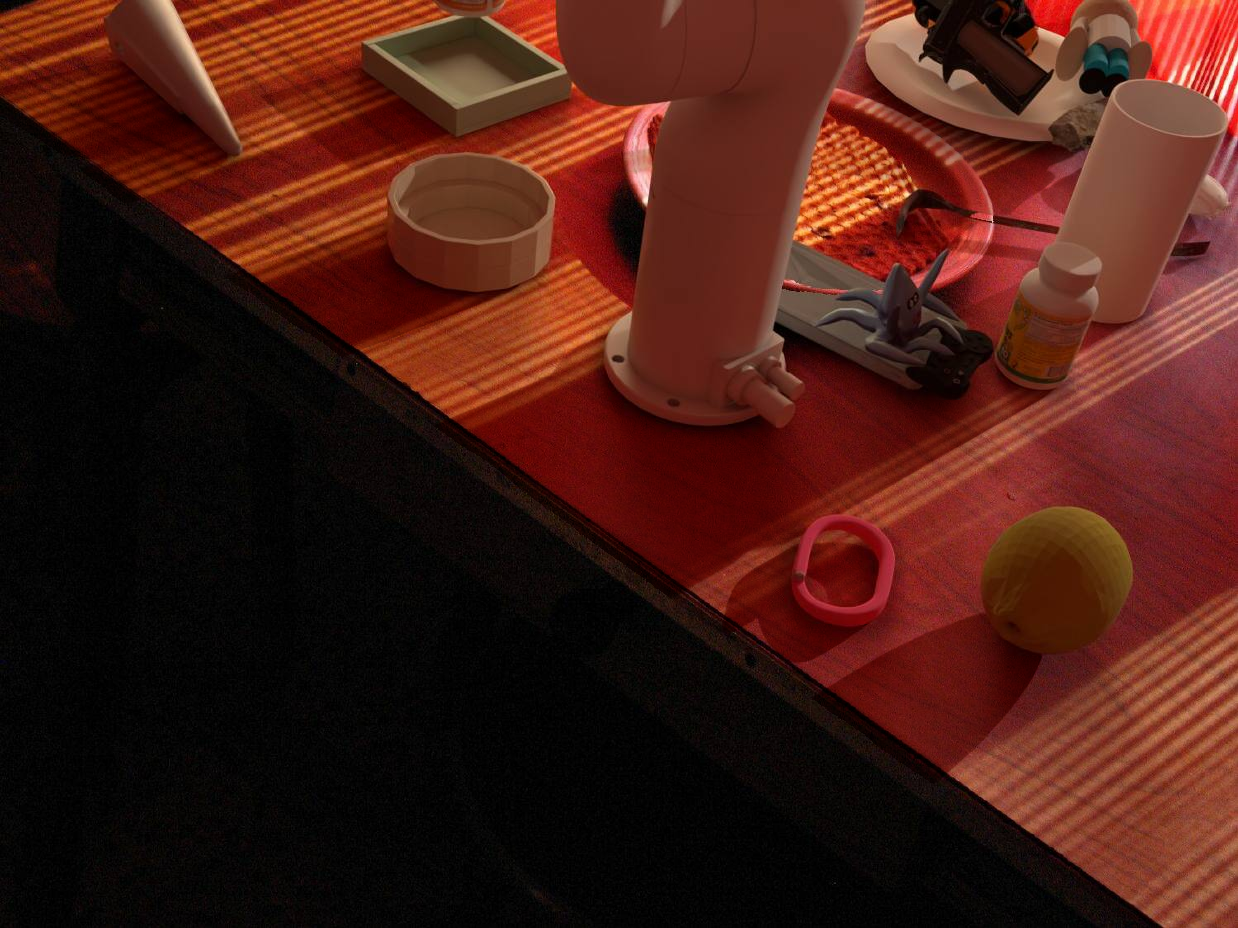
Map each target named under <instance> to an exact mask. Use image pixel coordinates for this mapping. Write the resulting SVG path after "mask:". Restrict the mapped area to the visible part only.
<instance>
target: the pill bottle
mask: <svg viewBox="0 0 1238 928" xmlns="http://www.w3.org/2000/svg"><path fill="white" fill-rule="evenodd" d="M433 2H434V4H435V5H436V6H437V7H438V8H439V9H440V10H442V11H444V12H446V13H448V14H450V15H452V16H454V15H457V16H462V17H472V18H476V17H484V16H488V17H489V16H491V15H494V14H496V13H497V12H499V11H500V10H502V9H503V7H504V6H505V4H506V0H433Z"/></svg>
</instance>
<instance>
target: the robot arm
mask: <svg viewBox="0 0 1238 928" xmlns="http://www.w3.org/2000/svg"><path fill="white" fill-rule="evenodd" d="M866 3H867V0H555V30H556V38H557V39H556V40H557V44H558V49H559V53H560V57H561V61H562V63H563V65H564V66H565V69H566V71H567V73H568V75H569V77H570V78H571V80H572V84H574V86H575V87H576V88H577V89H578V90H579V91H580V92H581V93H582V94H583V95H585V97H587V98H589V99H591V100H593V101H595V102H597V103H600V104H602V105H606V106H611V107H637V106H638V107H639V106H645V105H653V104H656V105H657V104H661V103H662V104H663V103H669V104H668V106H667V108H666V110H665V113H664V115H663V117H662V120H661V123H660V126H659V129H658V133H657V136H656V142H655V147H654V154H653V160H652V168H651V175H650V182H649V190H648V196H647V203H646V209H645V218H644V225H643V232H642V237H641V238H642V240H641V245H640V246H641V247H640V253H639V262H638V268H637V274H636V275H637V276H636V282H635V290H634V298H633V304H632V310H631V311H629V312H628V313H626V314H624V315H623V316H622V317H621V318H620V319H618V320H617V321H615V323H614V324H613V326H612V327H611V328H610V330H609V331H608V333H607V336H606V339H605V341H604V350H603V366H604V370H605V372H606V374H607V377H608V379H609V381H610V382H611V383H612V385H613V387H614V388H615V390H617V391H618V393H620V394H621V395H622V396H623V397H624V398H625V399H626V401H627V400H628V401H629V402H630V403H632V404H633V405H635V406H636V407H638V408H639V409H640V410H642V411H645V412H647V413H649V414H651V415H653V416H655V417H657V418H661V419H664V420H667V421H670V422H673V423H679V424H684V425H689V426H700V427H715V426H726V425H732V424H737V423H740V422H744V421H747V420H749V419H752V418H755V417H757V416H760V417H761V418H763V419H764V420H765V421H767V422H768V423H769V424H771V425H772V426H774V427H775V428H776V429H781V428H784V427H786V425H787V424H789V423H790V422H791V420H792V419H793V417H794V415H795V413H796V411H797V405H796V404H795V403H794V402H793V401H796V400H798V399H800V397H801V396H802V395H803V394H804V392H805V389H806V384H805V382H803V381H802V380H800V379H799V378H797V376H795V375H793V374H792V373H791V372H788V371H787V364H786V359H785V355H784V352H783V347H784V343H785V338H784V337H782V336H781V335H779V334H778V333H776V332H775V331H774V327H775V323H776V322H775V317H776V313H777V309H778V304H779V300H780V295H781V291H782V286H783V282H784V278H785V273H786V269H787V264H788V260H789V256H790V251H791V247H792V242H793V240H794V238H795V233H796V229H797V224H798V220H799V215H800V211H801V206H802V202H803V198H804V193H805V191H806V187H807V182H808V178H809V174H810V169H811V165H812V161H813V157H814V153H815V149H816V144H817V141H818V138H819V134H820V131H821V127H822V124H823V120H824V118H825V115H826V113H827V109H828V106H829V104H830V101H831V98H832V96H833V94H834V91H835V89H836V87H837V85H838V83H839V82H840V81H839V80H840V79H841V76H842V74H843V72H844V70H845V68H846V66H847V64H848V61H849V60H850V57H851V55H852V52H853V50H854V47H855V45H856V42H857V40H858V37H859V33H860V30H861V28H862V25H863V19H864V16H865V11H866ZM787 397H788V398H787ZM791 400H792V401H791Z"/></svg>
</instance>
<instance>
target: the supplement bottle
mask: <svg viewBox="0 0 1238 928" xmlns="http://www.w3.org/2000/svg"><path fill="white" fill-rule="evenodd" d="M1101 269H1102V263H1101V261H1100V259H1099V258H1098V257H1097V255H1096V254H1094V253H1093V252H1092V251H1090V250H1088V249H1087V248H1085V247H1082V246H1080V245H1077V244H1073V243H1067V242H1056V243H1054V242H1052V243H1049V244H1048V245H1047V246H1045V248H1044V249H1043V251H1042V254H1041V256H1040V258H1039V261H1038V267H1037V266H1036V267H1035V268H1033V269H1031V270H1030V271H1028V272H1027V273H1025V275H1024V276H1023V278H1022V280H1021V281H1020V284H1019V286H1018V290H1017V291H1016V295H1015V297H1014V300H1013V304H1012V306H1011V309H1010V312H1009V315H1008V317H1007V320H1006V322H1005V325H1004V328H1003V330H1002V333H1001V336H1000V339H999V341H998V344H997V346H996V350H995V353H994V361H995V364H996V366H997V368H998V369H999V371H1000V372H1001V374H1002V375H1003V376H1004V377H1005V378H1007V379H1008V380H1009V381H1011V382H1012V383H1013V384H1016V385H1017V386H1021V387H1023V388H1027V389H1030V390H1034V391H1035V390H1036V391H1046V390H1052V389H1056V388H1057V387H1060V386H1061V385H1063V384H1064V382H1065V381H1066V380H1067V378H1068V376H1069V374H1070V373H1071V371H1072V367H1073V365H1074V363H1075V360H1076V358H1077V355H1078V353H1079V351H1080V348H1081V346H1082V343H1083V341H1084V338H1085V336H1086V334H1087V331H1088V330H1089V327H1090V325H1091V323H1092V321H1091V320H1092V318H1093V315H1094V313H1095V310H1096V308H1097V305H1098V293H1097V291H1096V288H1095V287H1094V285H1095V284H1096V283H1097V281H1098V277H1099V275H1100V272H1101Z"/></svg>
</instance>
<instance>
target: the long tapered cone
mask: <svg viewBox="0 0 1238 928" xmlns="http://www.w3.org/2000/svg"><path fill="white" fill-rule="evenodd" d="M102 19H103V24H104V29H105V32H106V37H107V40H108V44H109V49H110V51H111V53H113V54H114V55H115V56H116V57H117V58H118V59H119V60H120V62H122V63H124V65H126V66H127V68H129V69H130V70H131V71H132V72H133V73H134V74H135V75H137V76H138V78H140V80H142V81H143V82H144V83H145V84H146V85H148V87H150V89H152V90H153V91H154V92H155V93H156V94H158V95H159V96H160V98H162V99H163V100H164V101H165V102H166V103H167V104H169V106H171V107H172V108H173V109H174V110H175V111H176V112H177V113H178V114H179V115H183V114H184V115H185V116H187V117H188V118H189V120H191V121H192V122H193V123H194V124H195V125H196V126H197V127H199V128H200V129H201V130H202V132H204V134H205V135H207V136H208V137H209V138H210V139H211V140H212V141H213V142H214V143H215V145H217V146H218V147H219V148H220V149H221V150H222V151H223V152H225V153H226V154H228V155H230V156H231V157H239V156H240V155H241V154H242V152H243V145H242V142H241V140H240V138H239V135H238V134H237V131H236V129H235V126H234V124H233V123H232V119H231V118H230V115H229V114H228V112H227V110H226V108H225V106H224V104H223V101H222V100H221V98H220V96H219V94H218V92H217V90H216V88H215V86H214V84H213V82H212V80H211V78H210V76H209V74H208V72H207V70H206V68H205V66H204V64H203V62H202V60H201V58H200V56H199V54H198V52H197V49H196V48H195V46H194V44H193V42H192V39H191V38H190V36H189V34H188V32H187V30H186V28H185V26H184V23H183V21H182V19H181V17H180V15H179V13H178V10H177V9H176V7H175V5H174V3H173V1H172V0H120V1H119V2H118V3H117V4H116V5H115V6H114V8H113V9H112V10H111V12H110V14H109V15H107V16H105V17H103V18H102Z"/></svg>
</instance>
